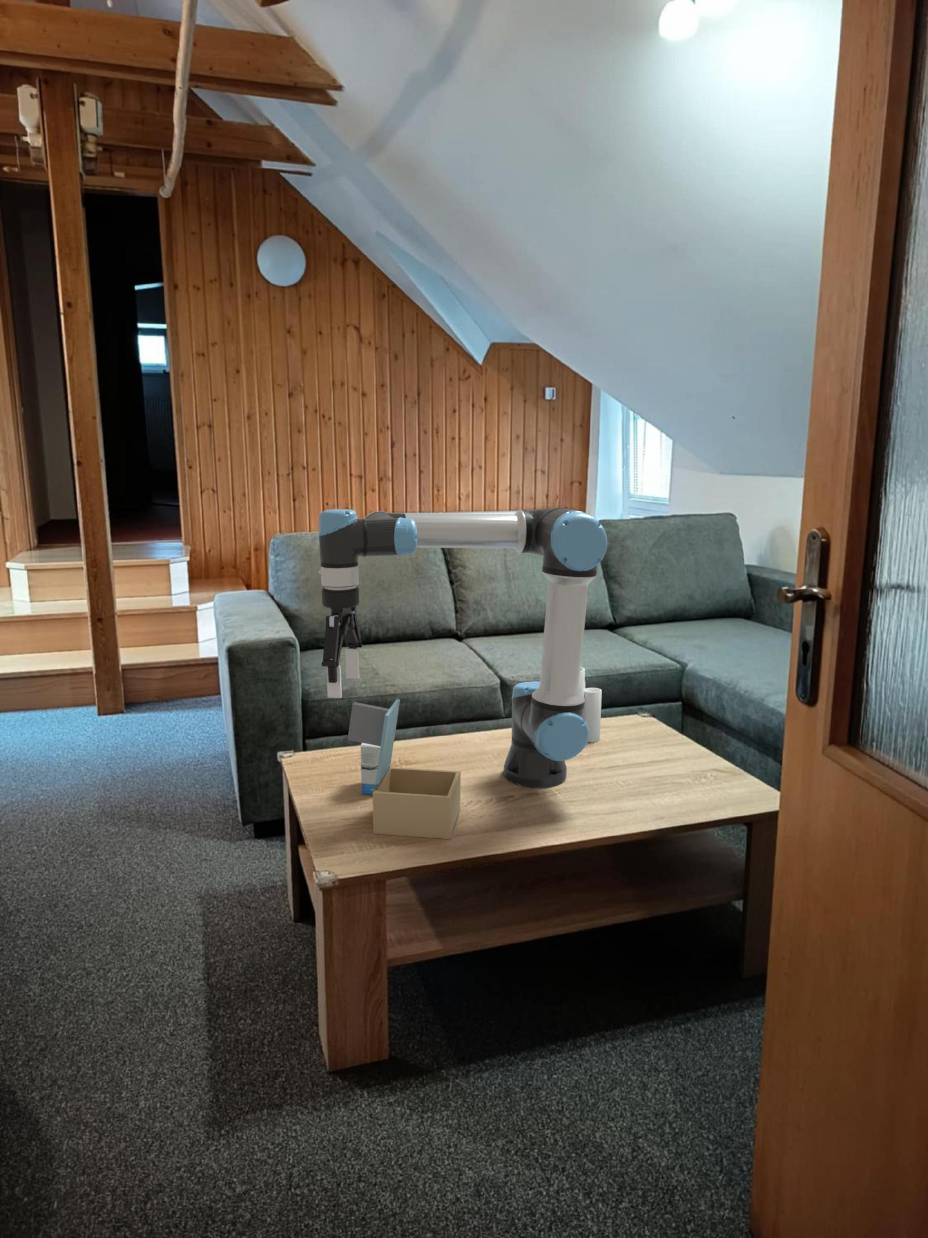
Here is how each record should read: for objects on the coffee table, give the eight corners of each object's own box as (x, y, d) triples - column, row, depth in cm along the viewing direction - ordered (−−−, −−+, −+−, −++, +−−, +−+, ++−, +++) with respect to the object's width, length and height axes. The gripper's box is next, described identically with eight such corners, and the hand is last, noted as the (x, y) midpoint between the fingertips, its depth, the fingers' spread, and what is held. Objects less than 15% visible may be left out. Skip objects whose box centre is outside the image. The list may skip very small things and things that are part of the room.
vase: (565, 746, 225) (568, 673, 221) (553, 737, 232) (555, 666, 228) (603, 741, 230) (606, 669, 225) (589, 732, 236) (592, 662, 232)
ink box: (381, 796, 194) (380, 747, 191) (360, 794, 195) (359, 745, 192) (391, 781, 202) (391, 734, 199) (371, 779, 203) (371, 732, 200)
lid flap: (400, 699, 182) (360, 691, 183) (388, 715, 171) (346, 707, 172) (390, 769, 185) (351, 761, 186) (378, 790, 175) (336, 781, 176)
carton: (460, 810, 187) (460, 771, 185) (450, 839, 173) (450, 797, 171) (388, 805, 189) (388, 767, 187) (373, 833, 175) (372, 792, 173)
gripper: (339, 576, 185) (343, 670, 190) (302, 597, 161) (307, 705, 166) (373, 576, 184) (376, 671, 189) (341, 598, 160) (345, 706, 165)
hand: (344, 687), depth 177 cm, fingers open, 13 cm apart
